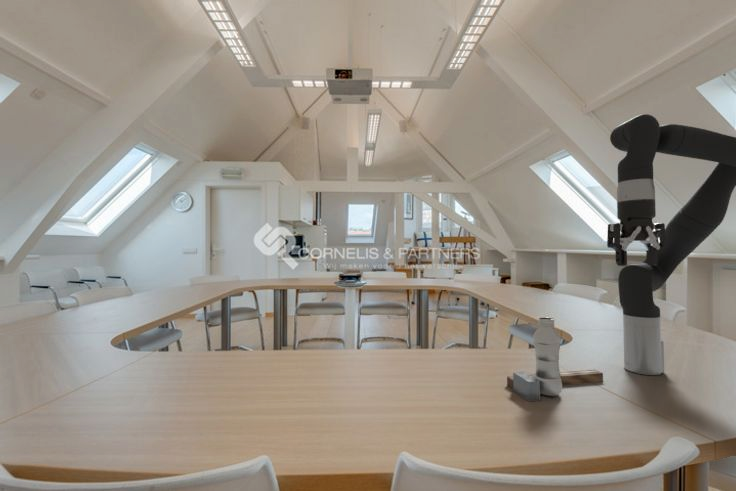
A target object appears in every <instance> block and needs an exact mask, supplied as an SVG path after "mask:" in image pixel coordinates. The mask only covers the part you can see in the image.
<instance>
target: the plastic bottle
mask: <svg viewBox="0 0 736 491" xmlns="http://www.w3.org/2000/svg"><path fill="white" fill-rule="evenodd" d="M537 324H538V325H537V326H539V327H538V328H537V329H536V331H535V332H534V333H533V336H532V341H533V345H534V351H535V353H534V354H535V363H536V364H535V373H534V374H535V379H537V380H539V381H540V395H543V396H547V397H558V396H560V395H561V393H562V390H563V385H562V381H561V378H560V372H561V371H560V364H559V363H560V361H559V360H560V349H561V340H562V339H561V336H560V335H559V333H558V332H557V331H556V329H555V328H554V327H555V325H556V324H555V318H554V317H553V318H552V317H546V316H545V317H539V318H538V323H537Z"/></svg>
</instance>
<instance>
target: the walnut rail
mask: <svg viewBox="0 0 736 491" xmlns="http://www.w3.org/2000/svg"><path fill="white" fill-rule="evenodd" d="M535 374H536V373H534V374H532V373H531V374H529V375H530V376H532V377H533V378H535ZM560 378H561V381H562V386H570V385H580V384H581V385H582V384H591V383H602V382H604V373H603V372H601V371H599V370H596V369H585V370H582V369H581V370H573V371H570V370H569V371H560ZM506 385H507V386H508V387H509V388H511V389H512V390H514V388H513V375H509V376H506Z"/></svg>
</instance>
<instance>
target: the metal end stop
mask: <svg viewBox="0 0 736 491" xmlns="http://www.w3.org/2000/svg"><path fill="white" fill-rule="evenodd" d="M530 375H531V374H528V373H526V372H525V371H515V372H513V373H512V376H513V388H514V389H513V392H515V393H516V394H517V395H518V396H520V397H521V398H523V399H524V400H526V401H527V402H529V403H531V402H541V394H540V381H539V380H537V379H535V378H533V377H532V376H530Z"/></svg>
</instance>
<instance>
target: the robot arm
mask: <svg viewBox="0 0 736 491" xmlns="http://www.w3.org/2000/svg"><path fill="white" fill-rule="evenodd" d="M609 137H610V138H609V139H610V140H609V141H610V143H611V145H612V146H613V147H614V148H616V149H617V150H618V151H621V152H625V153H626V155H625V156H624V157H623V158H622V159H621V160H620V161H619V162H618V164H617V188H616V208H617V209H616V210H617V211H616V213H617V219H618V220H619V222H613V223H608V225H607V244H606V246H607V248H609V249H612V250H614V251H615V252H614V253H615V264H616V265H617V266H618V267H622V268H621V269H620V271H619V273H618V280H617V281H618V297H619V303H620V306H621V308H622V320H623V323H622V324H623V326H622V327H623V328H622V329H623V330H622V331H623V332H622V333H623V364H624V365H623V367H624V369H625V370H627V371H629V372H631V373H636V374H639V375H645V376H660V375H662V373H665V346H664V345H665V342H664V341H663V340H662V338H661V337H662V335H661V334H662V333H661V330H662V329H661V309H660V307H659V306H658V305H657V304H655V300H654V293H653V292H656V291H657V290H659V289H660V288H662V287H663V286H664V284H665V283H666V281H667V280H668V279H669V278H670V277H671V275H672V274H673V273H674V271H676V268H678V266H680V264H681V263H682V262H683V261H684V260H685V259H686V258H688V257H689V255H690V254H691V253H692V252H694V251H695V250H696V249H697V248H698V247H699V246H700V245H702V243H703V242H704V241H706V240H707V238H708V237H710V235H711V234H712V233H713V232H715V230H716V229H717V228H718V227H719V226H721V224H722V222H723V221H724V219H725V216H726V214H727V211H728V207H729V204H730V200H731V197H732V194H733V191H734V189H735V187H736V136H731V135H727V134H724V133H719V132H716V131H712V130H708V129H705V128H700V127H695V126H690V125H683V124H676V123H667V124H662V125H660V123H659V121H658V120H657V118H656V117H654V116H653V115H651V114H648V113H644V114H643V113H642V114H638V115H637V116H635V117H632V118H631V119H628V120H627V121H625V122H623V123H621V124H619V125H617V126H616V127H615V128H614V129H612V131H611V133H610V136H609ZM656 153H658V154H666V155H670V156H677V157H684V158H690V159H697V160H704V161H708V162H714V163H717V165H716V166H715V167H714V169H713V171H712V172H711V173H710V174H709V176H708V177H707V178H706V179H705V181H704V182H703V183H702V184H701V185H700V187H698V189H697V190H696V191H695V192H694V194H693V195H692V196H691V197H690V199H689V200H688V201H687V202H686V203H685V204H684V205H683V206H682V207H681V208H680V209H679V211H677V213H676V214H675V215H674V216H673V217H672V218H671V219H670V221H668V223H667V225H666V226H665V223H664V222H656V223H654V222H653V220H654V218H655V217H656V216H657V215H656V186H655V182H654V160H655V157H656ZM634 241H638V242H639V243H641V244H643V245H644V247H645V249H646V250H645V252H646V253H645V254H646V255H645V257H646V259H644V260H643V261H642V262H640V263H631V264H628V251H627V249H628V247H629V245H630V244H632V243H633V242H634Z"/></svg>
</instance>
